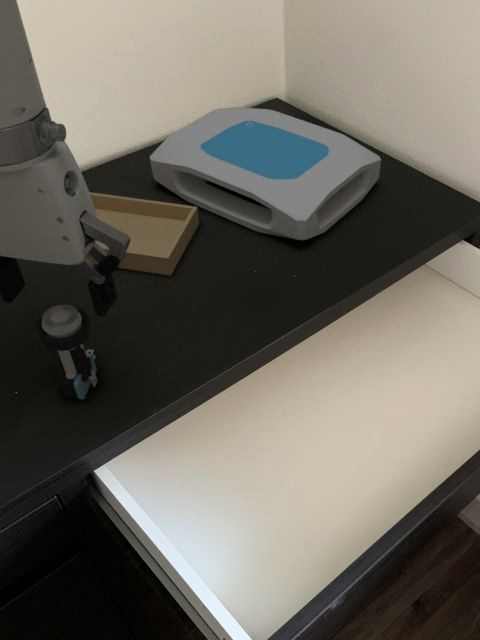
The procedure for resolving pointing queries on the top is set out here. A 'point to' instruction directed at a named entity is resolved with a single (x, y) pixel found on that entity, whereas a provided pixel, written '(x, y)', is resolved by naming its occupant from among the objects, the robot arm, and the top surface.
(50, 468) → the top surface
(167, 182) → the grey rounded box
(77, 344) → the push button
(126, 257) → the tray
